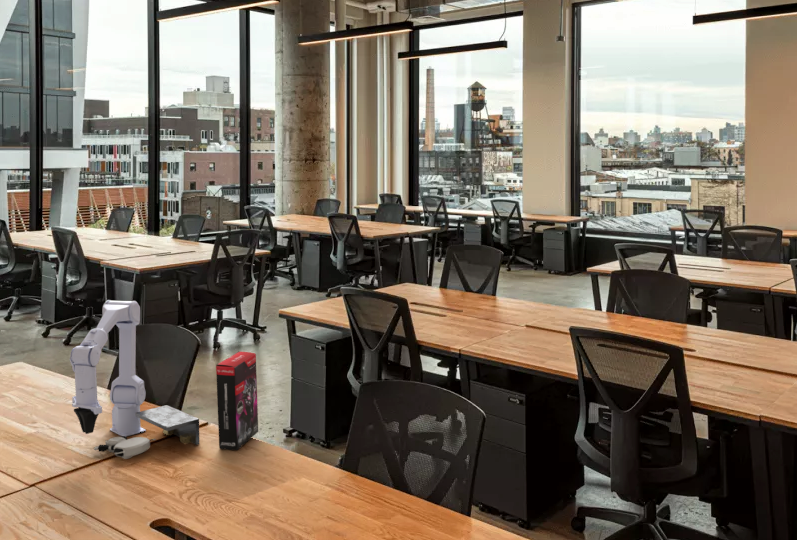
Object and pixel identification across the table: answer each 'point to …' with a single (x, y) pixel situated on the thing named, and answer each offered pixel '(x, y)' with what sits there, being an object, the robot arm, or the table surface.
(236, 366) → the graphics card box
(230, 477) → the table surface
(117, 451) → the robot toy
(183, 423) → the overhang shelf
